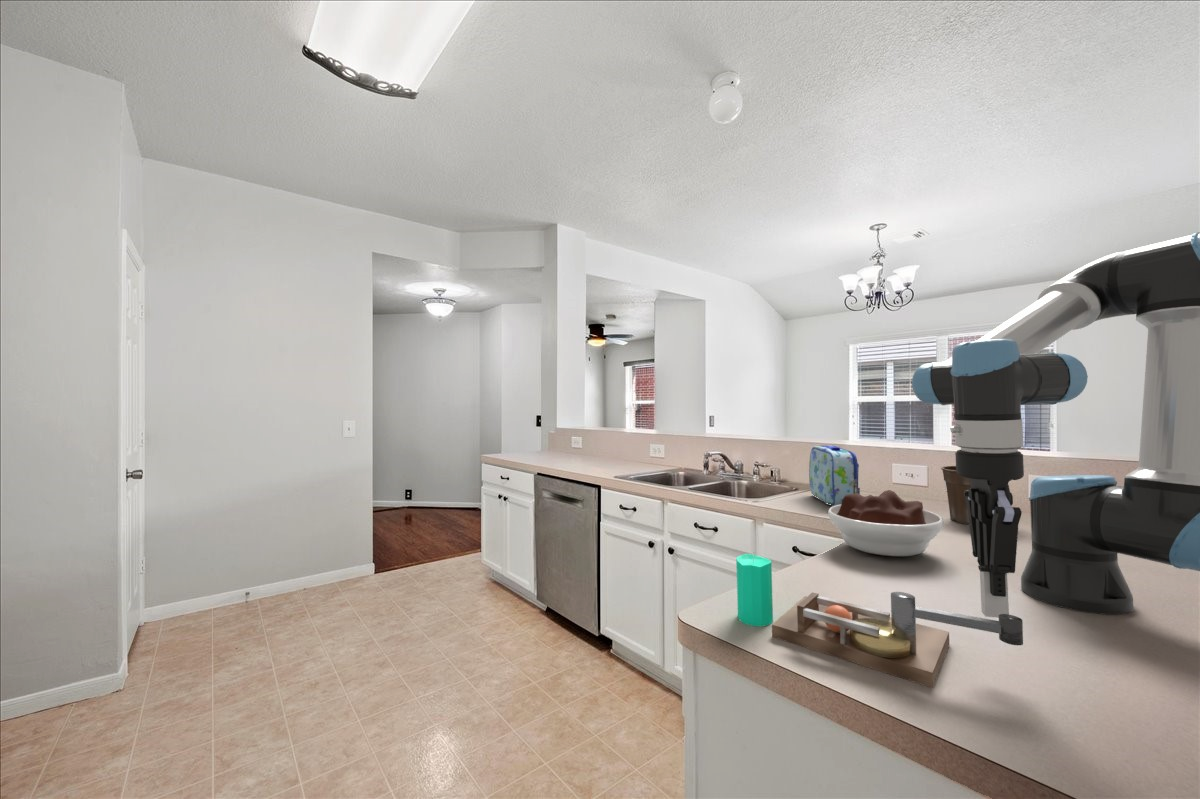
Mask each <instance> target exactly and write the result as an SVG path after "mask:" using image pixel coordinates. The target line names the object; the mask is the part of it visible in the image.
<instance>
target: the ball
mask: <svg viewBox="0 0 1200 799" xmlns="http://www.w3.org/2000/svg"><path fill="white" fill-rule="evenodd" d="M825 613H827V614H830V615H834V616H838V617H842V618H845V619H849V620H852V618H851V615H850V613H849V612H848V611H847V610H846V609H845V608H844V607H842V606H839V605H832V606H830V607H828V608H827V609H826V610H825ZM826 625H827V626H828V628H829V629H831V630H832V631H834V632H837V633H840V626H836V625H833V624H829V623H826ZM848 630H849V629H847V628H846V631H848Z"/></svg>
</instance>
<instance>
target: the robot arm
mask: <svg viewBox="0 0 1200 799" xmlns="http://www.w3.org/2000/svg"><path fill="white" fill-rule="evenodd" d="M1129 315H1135V321H1137V322H1138V323H1139V324H1141V325H1143V326H1144V327H1146V329H1147V342H1146V356H1145V369H1144V370H1145V371H1144V384H1143V386H1144V387H1143V395H1142V396H1143V399H1142V412H1141V413H1142V414H1141V424H1140V425H1141V428H1140V440H1139V441H1140V443H1139V452H1138V453H1139V454H1138V456H1139V458H1138V467H1137V468H1135V469H1134V470H1132V471H1130V472H1129V473H1127V474H1126V475H1124V479H1123V480H1124V481H1123V486H1121V485H1118V482H1117V480H1116V478H1115V477H1114V476H1112V475H1101V474H1100V475H1099V474H1096V475H1095V474H1094V475H1093V474H1073V475H1072V474H1067V475H1066V474H1064V475H1044V476H1040V477H1036V478H1034V479H1033V480H1032V481H1031V483H1030V491H1029V492H1030V494H1029V498H1028V501H1030V502H1029V504H1030V505H1029V506H1030V528H1031V529H1030V532H1031V533H1030V534H1031V552H1030V554H1029V557H1028V559H1027V561H1026V564H1025V567H1024V568H1023V571H1022V573H1021V577H1020V583H1021V584H1020V588H1021V590H1022V592H1024V593H1025V594H1026V595H1028V596H1030V597H1032V598H1034V599H1036V600H1038V601H1041V602H1044V603H1046V604H1050V605H1053V606H1057V607H1061V608H1065V609H1069V610H1072V611H1073V610H1074V611H1078V612H1079V611H1080V612H1085V613H1091V614H1092V613H1093V614H1099V615H1100V614H1101V615H1102V614H1103V615H1124V614H1129V613H1131V612H1133V610H1134V597H1133V594H1132V592H1131V590H1130V587H1129V584H1128V583H1127V581H1126V579H1125V576H1124V574H1123V571H1122V570H1121V568H1120V566H1119V560H1118V554H1120V555H1125V556H1128V557H1129V556H1130V557H1133V558H1138V559H1143V560H1146V561H1147V560H1148V561H1151V562H1154V563H1155V562H1156V563H1160V564H1164V565H1169V566H1173V567H1174V568H1176V569H1179V570H1180V569H1183V570H1187V569H1188V570H1192V571H1197V572H1200V232H1194V233H1192V234H1190V235H1186V236H1182V237H1177V238H1174V239H1169V240H1166V241H1161V242H1156V243H1153V244H1152V243H1151V244H1149V245H1144V246H1139V247H1136V248H1131V249H1126V250H1122V251H1118V252H1114V253H1111V254H1108V255H1104V256H1103V257H1100V258H1097V259H1095V260H1092V261H1091V262H1089V263H1087V264H1085V265H1083V266H1081V267H1079V268H1078V269H1075V270H1074V271H1072V272H1070V273H1068V274H1067V275H1065V276H1063V277H1061V278H1060V279H1058V280H1056V281H1055V282H1054V283H1052V284H1050V285H1049V286H1047V287H1046V288H1044V289H1043V291H1041V293H1040V294H1039V296H1038V298H1037V300H1036V301H1034V302H1033V303H1032V304H1030V305H1028V306H1027V307H1026V308H1024V309H1022V310H1020V311H1019V312H1017V313H1016V314H1015V315H1013V316H1011V318H1009V319H1008V320H1005V321H1004V322H1003V323H1001V324H1000V325H998V326H997V327H995V328H993V329H992V330H990V331H989V332H987V333H986V334H984V335H983V336H981V337H979V338H978V339H976V340H974V341H973V340H971V341H965V342H960V343H957V344H956V345H954V347H953V348H952V351H951V352H952V353H951V357H949V358H947V359H946V360H944V361H933V362H929V363H928V362H927V363H923V364H921V365H919V366H918V367H917V368H916V370H915V371H914V373H913V375H912V379H911V386H912V387H911V388H912V390H913V392H914V395H915V396H916V398H917V399H918V400H919V401H921V402H922V403H923V404H929V405H942V406H947V405H953V409H954V413H953V419H954V426H951V427H950V432H951V433H953V434H954V439H955V446H956V447H958V448H960V449H958V450H956V451H955V466H956V472H957V474H958V475H959V476H961V477H965V478H970V479H971V488H969V490H965V491H964V496H965V499H966V503H967V509H968V517H969V524H968V525H969V531H970V532H969V533H970V539H971V541H970V542H971V549H972V556H973V557H974V558H977V559H976V560H977V561H976V562H977V563H978V566H977V567H978V570H979V583H980V605H981V606H980V607H981V613H982V614H983V615H984V617H987V618H998V619H999V615H1000V614H1009V615H1010V611H1009V608H1010V607H1009V584H1008V574H1015V572H1016V564H1017V561H1016V560H1017V550H1018V549H1017V548H1018V538H1019V537H1018V536H1019V524H1020V521H1021V517H1022V510H1021V508H1020V507H1019V506H1018V507H1016V506H1013V504H1014V498H1013V496H1014V495H1013V493H1012V492H1011V491H1010V490H1011V489H1010V484H1009V482H1010V481H1018V480H1021V479H1022V478H1024V477H1025V476H1024V475H1025V468H1024V466H1025V465H1024V454H1023V453H1022V452H1021V451H1019V450H1018V449H1021V448H1023V447H1024V431H1023V419H1022V412H1021V411H1022V408H1021V407H1022V406H1032V405H1033V406H1034V405H1035V406H1036V405H1056V404H1058V403H1059V404H1060V403H1065V402H1069V401H1072V400H1074V399H1075V398H1077V397H1078V396H1080V395H1081V393H1083V392H1084V390H1085V388H1086V386H1087V383H1088V376H1089V375H1088V372H1087V368H1086V367H1085V365H1084V364H1083V363H1082V361H1080V360H1079V359H1078V358H1076V357H1074V356H1072V355H1071V354H1066V353H1060V352H1059V353H1055V352H1051V351H1049V352H1041V351H1043V350H1045V348H1047V347H1049V346H1050V345H1051V344H1054V343H1055V342H1056V341H1057V340H1059V339H1061V338H1062V337H1064V336H1065V335H1066V334H1069V332H1071V331H1074V330H1079V329H1080V330H1081V329H1083V328H1085V327H1088V326H1089V325H1092V324H1093V323H1094V322H1096V321H1100V320H1103V319H1109V318H1110V319H1111V318H1116V317H1123V316H1129ZM1040 352H1041V353H1040Z"/></svg>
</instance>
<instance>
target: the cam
mask: <svg viewBox="0 0 1200 799" xmlns="http://www.w3.org/2000/svg"><path fill="white" fill-rule="evenodd" d="M890 612H891V613H890V617H891V622H887V621H883V620H879V619H873V618H861V619H856V620H853V621H857V622H861V623H864V624H868V625H872V626H876V627H880V635H879V636H878V637H876V636H873V635H869V634H865V633H862V632H858V631H854V630H851V629H850V640H851V642H852V643H853V644H854V645H855V646H856V647H857V648H859V649H861V650H863V651H865V652H867V653H870V654H873V655H877V656H882V657H888V658H902V657H906V656H909V655H910V654H915V653H916V652H917V651H916V624H917V622H916V621H917V620H916V619H920V620H926V621H930V622H937V623H942V624H946V625H952V626H957V627H963V628H968V629H974V630H979V631H983V632H990V633H994V634H998V638H999V640H1000V641H1001V642H1003V643H1005V644H1008V645H1011V646H1023V645H1024V634H1023V633H1024V631H1023V630H1024V629H1023V628H1024V627H1023V618H1021V617H1019V616H1016V615H1014V614H1013V615H1012V614H1010V613H1009V614H1000V615H999V618H998V620H995V619H989V618H983V617H978V616H972V615H967V614H961V613H956V612H952V611H951V612H950V611H944V610H940V609H933V608H928V607H923V606H922V607H921V606H917V605H916V597H915V596H914V595H913V594H910V593H907V592H902V591H892V592H891V593H890Z"/></svg>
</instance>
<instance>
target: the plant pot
mask: <svg viewBox="0 0 1200 799" xmlns="http://www.w3.org/2000/svg"><path fill="white" fill-rule="evenodd" d="M940 470H942V476H943V481H944V482H945V488H946V494H947V501H948V510H949V518H950V520H951V521H956V522H957V523H960V524H964V525H965V524H966V525H969V517H968V509H967V503H966V499H965V496H964V491H965V490H969V488H971V479H970V478H965V477H961V476H959V475H958V474H957V472H956V465H946V466H945V465H944V466H941V467H940Z"/></svg>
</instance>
